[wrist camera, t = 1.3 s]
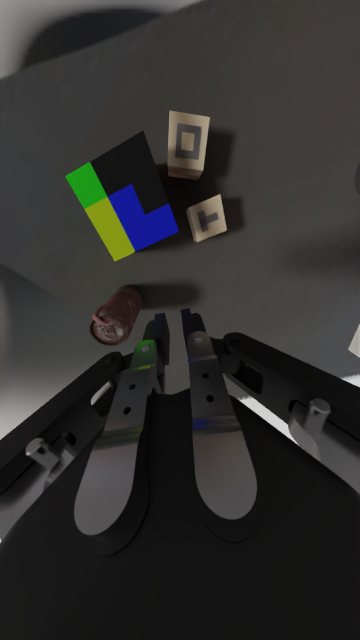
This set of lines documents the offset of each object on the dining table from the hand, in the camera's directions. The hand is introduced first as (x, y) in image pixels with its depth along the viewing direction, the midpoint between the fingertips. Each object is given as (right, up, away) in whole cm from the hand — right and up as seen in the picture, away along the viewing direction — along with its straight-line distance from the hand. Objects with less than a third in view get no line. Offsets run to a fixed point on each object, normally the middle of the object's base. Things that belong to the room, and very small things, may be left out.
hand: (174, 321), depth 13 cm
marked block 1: (+1, +26, +12) cm, 29 cm away
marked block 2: (+5, +18, +16) cm, 25 cm away
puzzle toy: (-7, +19, +16) cm, 26 cm away
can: (-11, +5, +23) cm, 26 cm away
